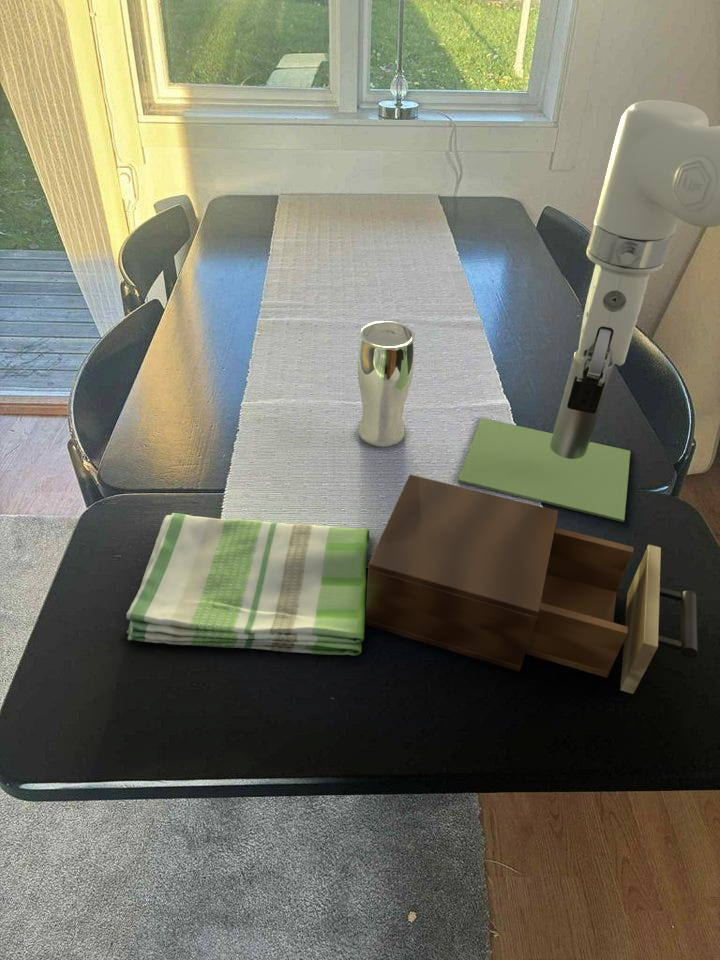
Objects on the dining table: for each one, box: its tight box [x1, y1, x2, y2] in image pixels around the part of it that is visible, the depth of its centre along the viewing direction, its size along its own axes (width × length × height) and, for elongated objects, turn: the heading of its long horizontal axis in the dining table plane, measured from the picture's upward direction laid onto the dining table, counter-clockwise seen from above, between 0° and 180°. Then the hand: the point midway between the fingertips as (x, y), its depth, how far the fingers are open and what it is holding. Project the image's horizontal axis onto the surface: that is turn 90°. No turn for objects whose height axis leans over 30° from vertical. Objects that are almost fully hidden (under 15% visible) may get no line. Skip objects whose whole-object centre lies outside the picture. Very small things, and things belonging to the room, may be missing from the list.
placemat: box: [457, 417, 631, 523], centre depth 90 cm, size 20×14×1 cm
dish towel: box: [125, 512, 371, 657], centre depth 72 cm, size 17×23×4 cm
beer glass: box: [357, 320, 415, 448], centre depth 89 cm, size 7×7×15 cm
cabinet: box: [365, 474, 559, 672], centre depth 70 cm, size 16×14×9 cm
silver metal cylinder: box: [550, 348, 615, 459], centre depth 82 cm, size 4×4×13 cm
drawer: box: [525, 526, 699, 695], centre depth 67 cm, size 19×12×7 cm, turn 71°
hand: (583, 396), depth 81 cm, fingers closed on silver metal cylinder, 4 cm apart
